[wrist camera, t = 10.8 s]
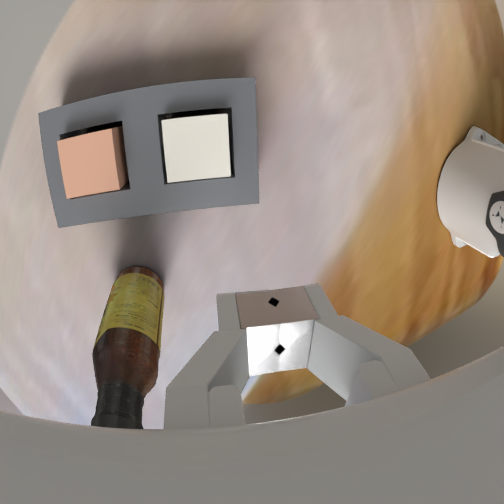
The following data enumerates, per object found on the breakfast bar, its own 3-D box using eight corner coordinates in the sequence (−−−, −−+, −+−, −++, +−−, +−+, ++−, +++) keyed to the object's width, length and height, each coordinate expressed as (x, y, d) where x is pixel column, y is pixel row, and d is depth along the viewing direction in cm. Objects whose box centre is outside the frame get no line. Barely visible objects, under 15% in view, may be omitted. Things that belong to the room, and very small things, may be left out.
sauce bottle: (107, 269, 32) (53, 413, 15) (157, 258, 33) (131, 412, 15) (126, 313, 35) (99, 456, 18) (172, 305, 36) (168, 455, 18)
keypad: (246, 82, 26) (255, 77, 21) (250, 188, 31) (259, 203, 26) (60, 110, 23) (38, 113, 19) (76, 210, 28) (58, 228, 24)
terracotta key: (123, 125, 23) (111, 128, 20) (130, 178, 26) (119, 189, 22) (74, 136, 23) (57, 141, 19) (82, 186, 25) (66, 198, 21)
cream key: (223, 113, 25) (227, 113, 21) (226, 167, 27) (230, 176, 23) (167, 118, 24) (161, 120, 20) (171, 172, 26) (167, 182, 23)
